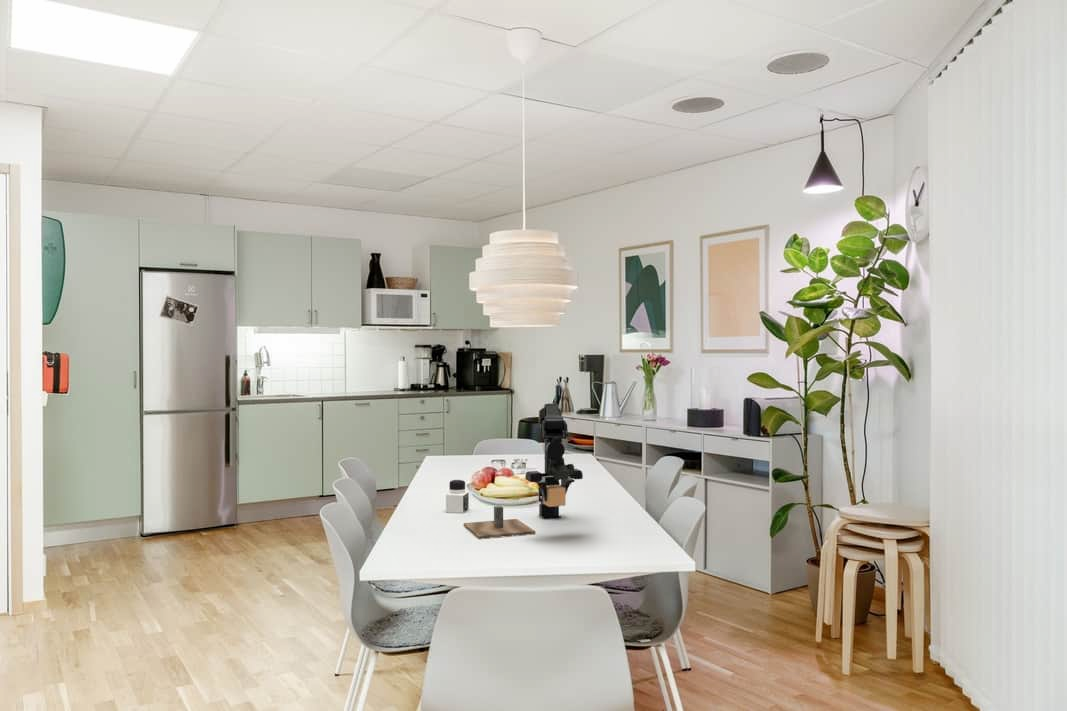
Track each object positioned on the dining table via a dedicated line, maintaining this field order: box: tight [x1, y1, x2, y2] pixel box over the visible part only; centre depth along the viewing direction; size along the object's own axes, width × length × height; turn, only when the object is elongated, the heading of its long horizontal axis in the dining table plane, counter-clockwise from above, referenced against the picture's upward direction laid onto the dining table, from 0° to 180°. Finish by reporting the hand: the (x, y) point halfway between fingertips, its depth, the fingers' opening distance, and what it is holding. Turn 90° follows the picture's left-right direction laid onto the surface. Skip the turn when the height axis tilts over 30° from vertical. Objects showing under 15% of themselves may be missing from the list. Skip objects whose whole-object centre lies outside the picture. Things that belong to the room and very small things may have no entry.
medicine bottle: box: [445, 479, 470, 514], centre depth 301 cm, size 7×7×12 cm
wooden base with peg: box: [463, 505, 536, 540], centre depth 270 cm, size 20×20×8 cm
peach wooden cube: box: [543, 484, 567, 507], centre depth 261 cm, size 6×6×6 cm
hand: (554, 500), depth 261 cm, fingers closed on peach wooden cube, 6 cm apart
